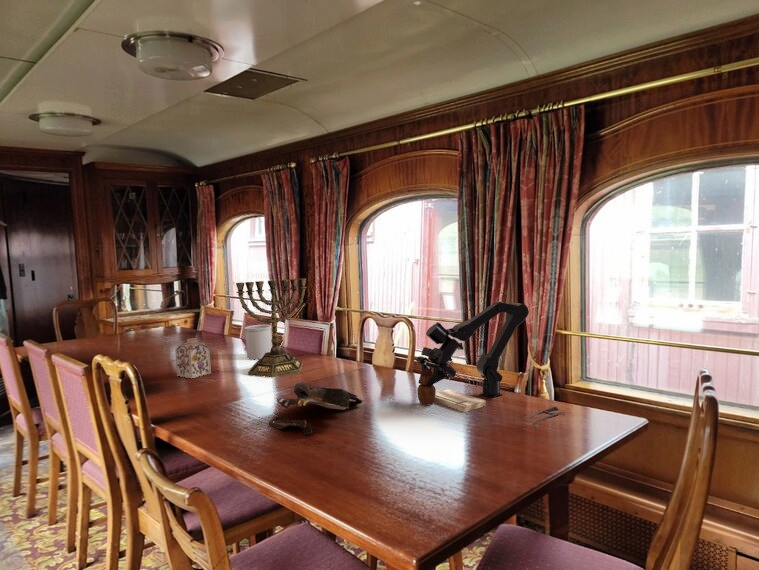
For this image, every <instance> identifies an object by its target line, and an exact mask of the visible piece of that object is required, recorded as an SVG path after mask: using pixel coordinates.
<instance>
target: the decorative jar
mask: <svg viewBox="0 0 759 570" xmlns="http://www.w3.org/2000/svg"><path fill="white" fill-rule="evenodd" d="M175 364H176V365H175V368H176V369H175V370H176V377H178V376H180V378H184V377H185V379H190V378H191V380H193V379H195V378H200V377H204V376H206V375H207V374H208V375H211V374H212V371H211V370H212V369H211V365H212V364H211V350H210V346H209V345H208V344H207V343H206V342H205V341H201V340H198V338H197V337H195V338H192V337H191V338H188V339H186V342H182V343H180V344H178V346H177V347H176V349H175ZM203 375H204V376H203ZM199 376H200V377H199ZM192 378H193V379H192Z"/></svg>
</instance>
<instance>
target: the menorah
mask: <svg viewBox="0 0 759 570" xmlns="http://www.w3.org/2000/svg"><path fill="white" fill-rule="evenodd" d="M264 282H265V281H264V280H257V281H255V282H254V281H245V282H236V283H235V286H236V288H237V291H236V294H237V295H238V299H239V302H240V304H241V308H242V309H244V311H245V312H246V313H247V315H249V317H251V318H253V319H255V320H257V321H258V322H263V323H268V324H269V323H270V324H271V337H272V339H271V342H272V348H271V350H270V352H267V353H265V354H264V356H263V357H262V358H261V359H258V360H257V361H256V362H255V363H254V364H253V365H252V366H251V368H250V369H249V371H248V373H247V374H248V376H253V375H255V376H254V377H263V376H265V378H278V377H282V376H283V375H284V376H290V375H295V374H300V373H301V372H302V370H301V369H303V367H302V366H304V364H303V362H302V361H301V360H299V359H298V358H297V357H295V356H292V355H291V354H290V353H289V352H288V351H283V350H281V348H280V346H279V345H278V344H279V343H280V339H279V337H278V334H279V333H278V328H277V327H278V323H279V322H282V321H284V320H287V319H290V318H291V316H293V315H294V314H295V313H297V312H298V309H299V308H300V306H301V305H302V304H303V302H304V297H305V291H306V289H307V286H306V283H307V278H293V279H292V278H291V279H280V283H281V285H282V288H281V291H282V292H283V293H282V295H281V296H280V298H279V299H278V300H277V301H276V297H275V295H276V291H278V290H277V288H276V286H277V284H278V280H272V279H271V280H267V284H268V287H269V289H268V291H270V294H271V299H270V301H271V302H270V301H268V300H267V299H266V297H264V296H263V292H264V291H265V289H263V287H264ZM289 282H290V285H291V287H290V288H289V287H288V286H289ZM298 283H299V287H298ZM254 284H255V286H256V288H257V289H256V290H253V289H254ZM245 286H246V290H244V287H245ZM298 289H300V295H299V298H298V299H297V303H296V304H295V306H294V307H293V308H292V310H291V311H289V313H286V314H285V315H283V316H281V317H278V315H277V314H279V313H281V312H283V311H286V310H287V309H288V308H289V307H290V306H291V305H292V304H293V303H294V300H295V297H296V295H297V291H298ZM288 290H291V297H290V299H288V302H287V303H286V304H285V305H284V306H282V307H281V308H279V309H277V305H280V304H281V303H283V302H284V301H285V300H286V297H287V295H288V294H287V293H288ZM254 292H257V295H258V297H259V299H260V302H261V303H263V304H264V305H267V306H270V310H268V309H265V308H263V307H261V306H260V305H258V302H256V301H255V298H254V296H253V295H254V294H253V293H254ZM244 293H247V296H248V299H249V301H250V302H251V305H252V306H253V307H254V308H255V309H257V310H258V311H259V312H260V313H264V314H269V315H271V316H270V318H264V317H262V316H259V315H257V314H255V312H254V311H252V310H251V309H250V308H249V307H248V304H247V303H246V302H245V300H244ZM277 376H278V377H277ZM284 376H283V377H284Z"/></svg>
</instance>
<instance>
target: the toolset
mask: <svg viewBox="0 0 759 570" xmlns="http://www.w3.org/2000/svg"><path fill="white" fill-rule="evenodd" d="M293 392H294V394H295V396H297V398H287V397H282V398H279V399H277V400H276V402H277V403H278V404H280V405H281V407H283V408H285V409H288V408H289V407H290V406H292V405H293V406H294V405H295V406H296V407H298V408H299V407H301V406H302V407H303V406H306V407H311V406H312V405H318V406H321V407H324V408H326V409H332V410H333V409H334V410H343V411H344V410H346V409H349V408H350V406H349V405H350V404H351V403H350V402H351V401H350V400H352V401H356V402H357V403H361V402H364V400H363V399H361V398H359V395H356V394H355V393H354V394H353V393H351V392H349V391H348V390H345V389H343V388H338V387H337V388H334V387H333V388H332V387H326V386H325V387H322V386H321V387H319V386H309V385H308V384H306V383H305V382H303V381H300V382H297V383H296V384H295V385H294V388H293ZM315 398H317V399H321V400H317V399H315ZM277 420H280V421H279V422H278V421H277ZM273 421H275V422H278V423H273ZM284 421H285V422H284ZM287 422H288V423H290V424H288V423H287ZM268 425H269V426H271V427H273V428H276V429H280V430H283V429H285V428H290V427H291V428H292V427H299V428H301V429H302V430H303V435H304V436H306V434H307V435H308V436H312V434H313V433H312V432H313V431H312V425H311V423H310V422H308V423H307V419H304V418H303V419H302V420H301V419H297V420H296V418H295V419H288V418H287V417H284V416H283V415H282V416H275V418H272V419H270V421H268ZM307 432H310V433H307ZM305 433H306V434H305Z"/></svg>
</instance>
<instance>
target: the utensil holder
mask: <svg viewBox="0 0 759 570" xmlns="http://www.w3.org/2000/svg"><path fill="white" fill-rule="evenodd" d="M243 329H244V332H245V334H244V335H245V347H246V355H247V356H246V357H247V359H248V358H249V359H248V360H252V359H258V360H259V359H261V358H262V357H263V356H264V354H265V353H267V352H270V350H271V348H272V346H273V344H272V342H271V339H272V338H273V336H272V324H271V325H270V324H256V325H248V326H245V327H244V328H243Z"/></svg>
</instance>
